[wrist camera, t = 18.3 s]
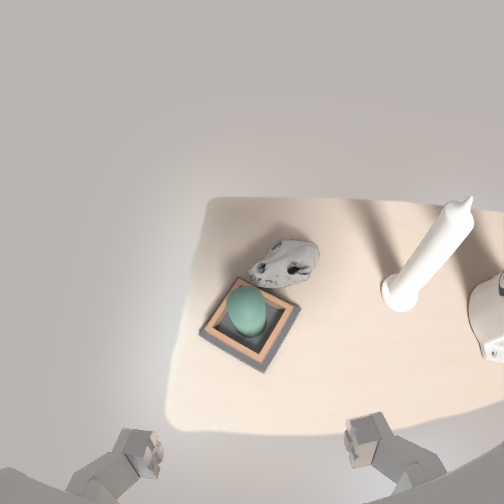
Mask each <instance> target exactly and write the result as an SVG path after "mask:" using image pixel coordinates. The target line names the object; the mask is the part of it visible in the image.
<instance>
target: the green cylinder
mask: <svg viewBox="0 0 504 504" xmlns="http://www.w3.org/2000/svg"><path fill="white" fill-rule="evenodd" d="M226 309H227V312H228V314H229V316H230V318H231V320H232V323H233V325H234V327H235V329H236V331H237V332H238V333H239V334H240V335H241V336H243V337H245V338H255V337H257V336H259V335H261V334H262V333H263V332H264V330H265V329H266V326H267V317H266V308H265V300H264V297H263V295H262V293H261V292H260V291H259V290H257V289H256V288H254V287H250V286H242V287H239V288H236V289H235V290H233V291H232V292H231V293H230V294H229V296H228V298H227V301H226Z"/></svg>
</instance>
